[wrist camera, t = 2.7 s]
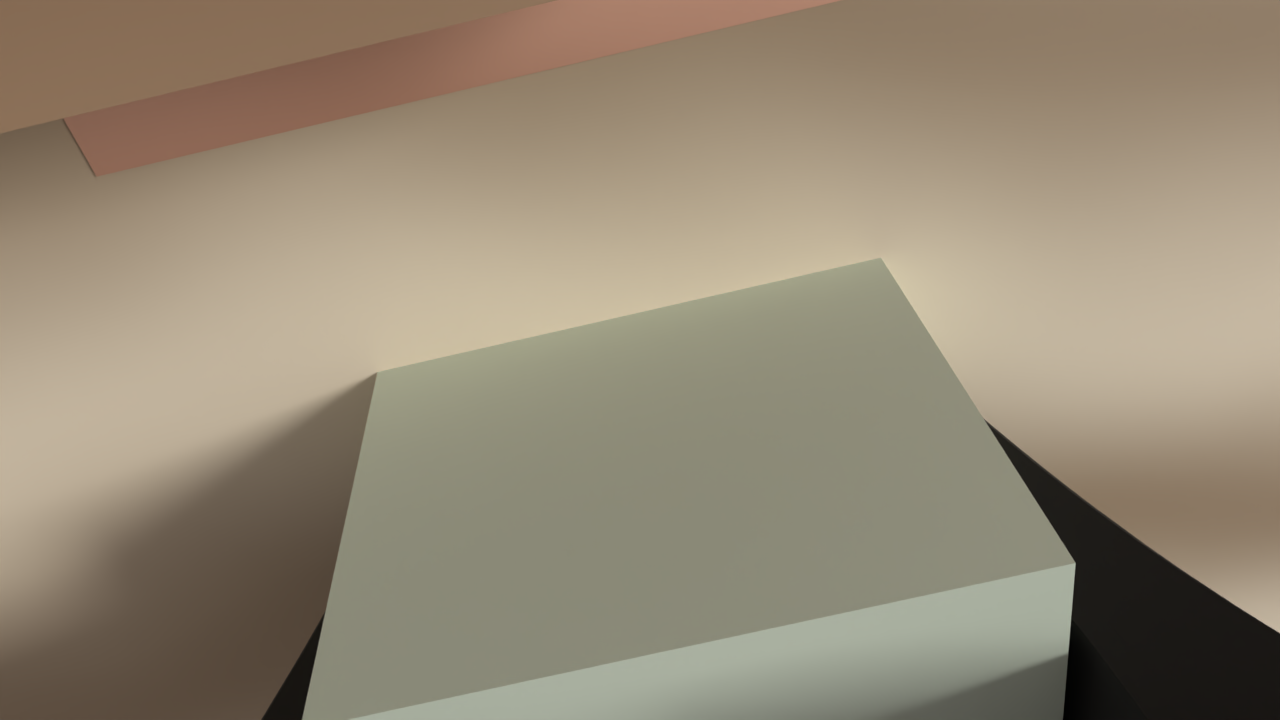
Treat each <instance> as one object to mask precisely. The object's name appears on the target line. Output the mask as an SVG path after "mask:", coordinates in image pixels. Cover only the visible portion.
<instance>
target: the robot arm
mask: <svg viewBox="0 0 1280 720" xmlns="http://www.w3.org/2000/svg"><path fill="white" fill-rule="evenodd" d="M984 420H985V419H984ZM985 422H986V423H987V425H988V426H989V428H990V429H991V431H992V433H993V434H994V436H995V437H996V439H997V440H998V442H999V444H1000V445H1001V447H1002V448H1003V450H1004V451H1005V453H1006V455H1007V456H1008V458H1009V459H1010V461H1011V462H1012V464H1013V466H1014V467H1015V469H1016V470H1017V472H1018V473H1019V475H1020V477H1021V478H1022V480H1023V481H1024V483H1025V484H1026V486H1027V487H1028V489H1029V491H1030V492H1031V494H1032V495H1033V497H1034V498H1035V500H1036V502H1037V503H1038V505H1039V506H1040V508H1041V509H1042V511H1043V513H1044V514H1045V516H1046V517H1047V519H1048V520H1049V522H1050V524H1051V525H1052V527H1053V528H1054V530H1055V531H1056V533H1057V535H1058V536H1059V538H1060V539H1061V541H1062V542H1063V544H1064V546H1065V547H1066V549H1067V550H1068V552H1069V553H1070V555H1071V556H1072V558H1073V560H1074V561H1075V563H1076V565H1075V577H1074V590H1073V602H1072V614H1071V626H1070V639H1069V651H1068V663H1067V676H1066V688H1065V700H1064V712H1063V720H1280V633H1279V632H1277V631H1276V630H1274V629H1272V628H1271V627H1269V626H1267V625H1266V624H1264V623H1263V622H1261V621H1259V620H1258V619H1256V618H1255V617H1253V616H1252V615H1250V614H1248V613H1247V612H1245V611H1244V610H1242V609H1240V608H1239V607H1237V606H1236V605H1234V604H1233V603H1231V602H1230V601H1228V600H1227V599H1225V598H1224V597H1222V596H1221V595H1219V594H1217V593H1216V592H1214V591H1213V590H1211V589H1210V588H1208V587H1207V586H1205V585H1204V584H1202V583H1201V582H1199V581H1198V580H1196V579H1195V578H1193V577H1192V576H1190V575H1189V574H1187V573H1186V572H1184V571H1183V570H1181V569H1180V568H1178V567H1177V566H1176V565H1174V564H1173V563H1171V562H1170V561H1168V560H1167V559H1165V558H1164V557H1163V556H1161V555H1160V554H1158V553H1157V552H1155V551H1154V550H1153V549H1151V548H1150V547H1148V546H1147V545H1146V544H1144V543H1143V542H1141V541H1140V540H1139V539H1137V538H1136V537H1135V536H1133V535H1132V534H1131V533H1129V532H1128V531H1126V530H1125V529H1124V528H1122V527H1121V526H1120V525H1118V524H1117V523H1115V522H1114V521H1113V520H1111V519H1110V518H1109V517H1107V516H1106V515H1105V514H1103V513H1102V512H1100V511H1099V510H1098V509H1096V508H1095V507H1094V506H1092V505H1091V504H1090V503H1088V502H1087V501H1086V500H1084V499H1083V498H1082V497H1080V496H1079V495H1078V494H1077V493H1075V492H1074V491H1073V490H1071V489H1070V488H1069V487H1067V486H1066V485H1065V484H1064V483H1062V482H1061V481H1060V480H1059V479H1057V478H1056V477H1055V476H1054V475H1052V474H1051V473H1050V472H1048V471H1047V470H1046V469H1045V468H1043V467H1042V466H1041V465H1040V464H1038V463H1037V462H1036V461H1035V460H1033V459H1032V458H1031V457H1030V456H1028V455H1027V454H1026V453H1025V452H1024V451H1022V450H1021V449H1020V448H1019V447H1017V446H1016V445H1015V444H1014V443H1012V442H1011V441H1010V440H1009V439H1008V438H1006V437H1005V436H1004V435H1003V434H1002V433H1000V432H999V431H998V430H997V429H996V428H994V427H993V426H992V425H991V424H990V423H988V422H987V421H986V420H985ZM325 612H326V611H325ZM325 612H324V614H323V616H322V618H321V619H320V621H319V623H318V625H317V626H316V628H315V630H314V632H313V633H312V635H311V637H310V639H309V640H308V642H307V644H306V646H305V647H304V649H303V651H302V652H301V654H300V656H299V658H298V659H297V661H296V663H295V664H294V666H293V668H292V669H291V671H290V673H289V674H288V676H287V678H286V679H285V681H284V683H283V684H282V686H281V688H280V689H279V691H278V693H277V694H276V696H275V697H274V699H273V701H272V702H271V704H270V706H269V707H268V709H267V711H266V712H265V714H264V716H263V717H262V719H261V720H302V717H303V713H304V708H305V704H306V699H307V694H308V690H309V685H310V681H311V676H312V671H313V667H314V662H315V658H316V653H317V648H318V644H319V639H320V635H321V630H322V625H323V621H324V616H325Z"/></svg>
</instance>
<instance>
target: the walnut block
mask: <svg viewBox="0 0 1280 720" xmlns="http://www.w3.org/2000/svg"><path fill="white" fill-rule="evenodd" d="M552 1H556V0H0V133H4V132H8V131H12V130H17V129H21V128H25V127H29V126H33V125H38V124H42V123H46V122H50V121H54V120H58V119H63V118H67V117H71V116H75V115H79V114H84V113H88V112H92V111H96V110H100V109H104V108H109V107H113V106H117V105H121V104H125V103H130V102H134V101H138V100H142V99H146V98H150V97H155V96H159V95H163V94H167V93H171V92H176V91H180V90H184V89H188V88H192V87H196V86H201V85H205V84H209V83H213V82H217V81H222V80H226V79H230V78H234V77H238V76H243V75H247V74H251V73H255V72H259V71H263V70H268V69H272V68H276V67H280V66H284V65H289V64H293V63H297V62H301V61H305V60H309V59H314V58H318V57H322V56H326V55H330V54H335V53H339V52H343V51H347V50H351V49H355V48H360V47H364V46H368V45H372V44H376V43H381V42H385V41H389V40H393V39H397V38H401V37H406V36H410V35H414V34H418V33H422V32H427V31H431V30H435V29H439V28H443V27H447V26H452V25H456V24H460V23H464V22H468V21H473V20H477V19H481V18H485V17H489V16H493V15H498V14H502V13H506V12H510V11H514V10H519V9H523V8H527V7H531V6H535V5H539V4H544V3H548V2H552Z"/></svg>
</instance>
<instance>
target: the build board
mask: <svg viewBox="0 0 1280 720" xmlns="http://www.w3.org/2000/svg"><path fill="white" fill-rule="evenodd" d="M877 258H881V259H882V260H883V262H884V263H885V265H886V266H887V268H888V270H889V271H890V273H891V274H892V276H893V277H894V279H895V281H896V282H897V284H898V285H899V287H900V288H901V290H902V292H903V293H904V295H905V296H906V298H907V299H908V301H909V302H910V304H911V306H912V307H913V309H914V310H915V312H916V313H917V315H918V317H919V318H920V320H921V321H922V323H923V324H924V326H925V328H926V329H927V331H928V332H929V334H930V335H931V337H932V339H933V340H934V342H935V343H936V345H937V346H938V348H939V350H940V351H941V353H942V354H943V356H944V357H945V359H946V361H947V362H948V364H949V365H950V367H951V368H952V370H953V371H954V373H955V375H956V376H957V378H958V379H959V381H960V382H961V384H962V386H963V387H964V389H965V390H966V392H967V393H968V395H969V397H970V398H971V400H972V401H973V403H974V404H975V406H976V408H977V409H978V411H979V412H980V414H981V415H982V417H983V419H985V420H986V421H987V422H988V423H990V424H991V425H992V426H993V427H994V428H996V429H997V430H998V431H999V432H1000V433H1002V434H1003V435H1004V436H1005V437H1006V438H1008V439H1009V440H1010V441H1011V442H1012V443H1014V444H1015V445H1016V446H1017V447H1019V448H1020V449H1021V450H1022V451H1024V452H1025V453H1026V454H1027V455H1028V456H1030V457H1031V458H1032V459H1033V460H1035V461H1036V462H1037V463H1038V464H1040V465H1041V466H1042V467H1043V468H1045V469H1046V470H1047V471H1048V472H1050V473H1051V474H1052V475H1054V476H1055V477H1056V478H1057V479H1059V480H1060V481H1061V482H1062V483H1064V484H1065V485H1066V486H1067V487H1069V488H1070V489H1071V490H1073V491H1074V492H1075V493H1077V494H1078V495H1079V496H1080V497H1082V498H1083V499H1084V500H1086V501H1087V502H1088V503H1090V504H1091V505H1092V506H1094V507H1095V508H1096V509H1098V510H1099V511H1100V512H1102V513H1103V514H1105V515H1106V516H1107V517H1109V518H1110V519H1111V520H1113V521H1114V522H1115V523H1117V524H1118V525H1120V526H1121V527H1122V528H1124V529H1125V530H1126V531H1128V532H1129V533H1131V534H1132V535H1133V536H1135V537H1136V538H1137V539H1139V540H1140V541H1141V542H1143V543H1144V544H1146V545H1147V546H1148V547H1150V548H1151V549H1153V550H1154V551H1155V552H1157V553H1158V554H1160V555H1161V556H1163V557H1164V558H1165V559H1167V560H1168V561H1170V562H1171V563H1173V564H1174V565H1176V566H1177V567H1178V568H1180V569H1181V570H1183V571H1184V572H1186V573H1187V574H1189V575H1190V576H1192V577H1193V578H1195V579H1196V580H1198V581H1199V582H1201V583H1202V584H1204V585H1205V586H1207V587H1208V588H1210V589H1211V590H1213V591H1214V592H1216V593H1217V594H1219V595H1221V596H1222V597H1224V598H1225V599H1227V600H1228V601H1230V602H1231V603H1233V604H1234V605H1236V606H1237V607H1239V608H1240V609H1242V610H1244V611H1245V612H1247V613H1248V614H1250V615H1252V616H1253V617H1255V618H1256V619H1258V620H1259V621H1261V622H1263V623H1264V624H1266V625H1267V626H1269V627H1271V628H1272V629H1274V630H1276V631H1277V632H1279V633H1280V0H556V1H552V2H548V3H544V4H539V5H535V6H531V7H527V8H523V9H519V10H514V11H510V12H506V13H502V14H498V15H493V16H489V17H485V18H481V19H477V20H473V21H468V22H464V23H460V24H456V25H452V26H447V27H443V28H439V29H435V30H431V31H427V32H422V33H418V34H414V35H410V36H406V37H401V38H397V39H393V40H389V41H385V42H381V43H376V44H372V45H368V46H364V47H360V48H355V49H351V50H347V51H343V52H339V53H335V54H330V55H326V56H322V57H318V58H314V59H309V60H305V61H301V62H297V63H293V64H289V65H284V66H280V67H276V68H272V69H268V70H263V71H259V72H255V73H251V74H247V75H243V76H238V77H234V78H230V79H226V80H222V81H217V82H213V83H209V84H205V85H201V86H196V87H192V88H188V89H184V90H180V91H176V92H171V93H167V94H163V95H159V96H155V97H150V98H146V99H142V100H138V101H134V102H130V103H125V104H121V105H117V106H113V107H109V108H104V109H100V110H96V111H92V112H88V113H84V114H79V115H75V116H71V117H67V118H63V119H58V120H54V121H50V122H46V123H42V124H38V125H33V126H29V127H25V128H21V129H17V130H12V131H8V132H4V133H0V720H261V719H262V717H263V716H264V714H265V712H266V711H267V709H268V707H269V706H270V704H271V702H272V701H273V699H274V697H275V696H276V694H277V693H278V691H279V689H280V688H281V686H282V684H283V683H284V681H285V679H286V678H287V676H288V674H289V673H290V671H291V669H292V668H293V666H294V664H295V663H296V661H297V659H298V658H299V656H300V654H301V652H302V651H303V649H304V647H305V646H306V644H307V642H308V640H309V639H310V637H311V635H312V633H313V632H314V630H315V628H316V626H317V625H318V623H319V621H320V619H321V618H322V616H323V614H324V612H325V611H326V607H327V602H328V598H329V593H330V589H331V584H332V579H333V575H334V570H335V565H336V561H337V556H338V552H339V547H340V542H341V538H342V533H343V529H344V524H345V519H346V515H347V510H348V506H349V501H350V496H351V492H352V487H353V483H354V478H355V473H356V469H357V464H358V460H359V455H360V450H361V446H362V441H363V437H364V432H365V427H366V423H367V418H368V414H369V409H370V404H371V400H372V395H373V391H374V386H375V381H376V377H377V372H380V371H384V370H389V369H393V368H398V367H402V366H406V365H411V364H415V363H419V362H424V361H428V360H433V359H437V358H441V357H446V356H450V355H455V354H459V353H463V352H468V351H472V350H477V349H481V348H485V347H490V346H494V345H499V344H503V343H507V342H512V341H516V340H521V339H525V338H529V337H534V336H538V335H543V334H547V333H551V332H556V331H560V330H565V329H569V328H573V327H578V326H582V325H587V324H591V323H595V322H600V321H604V320H609V319H613V318H617V317H622V316H626V315H631V314H635V313H639V312H644V311H648V310H653V309H657V308H661V307H666V306H670V305H675V304H679V303H683V302H688V301H692V300H697V299H701V298H705V297H710V296H714V295H719V294H723V293H727V292H732V291H736V290H741V289H745V288H749V287H754V286H758V285H763V284H767V283H771V282H776V281H780V280H785V279H789V278H793V277H798V276H802V275H807V274H811V273H815V272H820V271H824V270H829V269H833V268H837V267H842V266H846V265H851V264H855V263H859V262H864V261H868V260H873V259H877Z"/></svg>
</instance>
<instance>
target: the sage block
mask: <svg viewBox="0 0 1280 720" xmlns="http://www.w3.org/2000/svg"><path fill="white" fill-rule="evenodd" d="M1075 565H1076V563H1075V561H1074V560H1073V558H1072V556H1071V555H1070V553H1069V552H1068V550H1067V549H1066V547H1065V546H1064V544H1063V542H1062V541H1061V539H1060V538H1059V536H1058V535H1057V533H1056V531H1055V530H1054V528H1053V527H1052V525H1051V524H1050V522H1049V520H1048V519H1047V517H1046V516H1045V514H1044V513H1043V511H1042V509H1041V508H1040V506H1039V505H1038V503H1037V502H1036V500H1035V498H1034V497H1033V495H1032V494H1031V492H1030V491H1029V489H1028V487H1027V486H1026V484H1025V483H1024V481H1023V480H1022V478H1021V477H1020V475H1019V473H1018V472H1017V470H1016V469H1015V467H1014V466H1013V464H1012V462H1011V461H1010V459H1009V458H1008V456H1007V455H1006V453H1005V451H1004V450H1003V448H1002V447H1001V445H1000V444H999V442H998V440H997V439H996V437H995V436H994V434H993V433H992V431H991V429H990V428H989V426H988V425H987V423H986V422H985V420H984V419H983V417H982V415H981V414H980V412H979V411H978V409H977V408H976V406H975V404H974V403H973V401H972V400H971V398H970V397H969V395H968V393H967V392H966V390H965V389H964V387H963V386H962V384H961V382H960V381H959V379H958V378H957V376H956V375H955V373H954V371H953V370H952V368H951V367H950V365H949V364H948V362H947V361H946V359H945V357H944V356H943V354H942V353H941V351H940V350H939V348H938V346H937V345H936V343H935V342H934V340H933V339H932V337H931V335H930V334H929V332H928V331H927V329H926V328H925V326H924V324H923V323H922V321H921V320H920V318H919V317H918V315H917V313H916V312H915V310H914V309H913V307H912V306H911V304H910V302H909V301H908V299H907V298H906V296H905V295H904V293H903V292H902V290H901V288H900V287H899V285H898V284H897V282H896V281H895V279H894V277H893V276H892V274H891V273H890V271H889V270H888V268H887V266H886V265H885V263H884V262H883V260H882V259H881V258H877V259H873V260H868V261H864V262H859V263H855V264H851V265H846V266H842V267H837V268H833V269H829V270H824V271H820V272H815V273H811V274H807V275H802V276H798V277H793V278H789V279H785V280H780V281H776V282H771V283H767V284H763V285H758V286H754V287H749V288H745V289H741V290H736V291H732V292H727V293H723V294H719V295H714V296H710V297H705V298H701V299H697V300H692V301H688V302H683V303H679V304H675V305H670V306H666V307H661V308H657V309H653V310H648V311H644V312H639V313H635V314H631V315H626V316H622V317H617V318H613V319H609V320H604V321H600V322H595V323H591V324H587V325H582V326H578V327H573V328H569V329H565V330H560V331H556V332H551V333H547V334H543V335H538V336H534V337H529V338H525V339H521V340H516V341H512V342H507V343H503V344H499V345H494V346H490V347H485V348H481V349H477V350H472V351H468V352H463V353H459V354H455V355H450V356H446V357H441V358H437V359H433V360H428V361H424V362H419V363H415V364H411V365H406V366H402V367H398V368H393V369H389V370H384V371H380V372H377V377H376V381H375V386H374V391H373V395H372V400H371V404H370V409H369V414H368V418H367V423H366V427H365V432H364V437H363V441H362V446H361V450H360V455H359V460H358V464H357V469H356V473H355V478H354V483H353V487H352V492H351V496H350V501H349V506H348V510H347V515H346V519H345V524H344V529H343V533H342V538H341V542H340V547H339V552H338V556H337V561H336V565H335V570H334V575H333V579H332V584H331V589H330V593H329V598H328V602H327V607H326V612H325V616H324V621H323V625H322V630H321V635H320V639H319V644H318V648H317V653H316V658H315V662H314V667H313V671H312V676H311V681H310V685H309V690H308V694H307V699H306V704H305V708H304V713H303V717H302V720H1063V712H1064V700H1065V688H1066V676H1067V663H1068V651H1069V639H1070V626H1071V614H1072V602H1073V590H1074V577H1075Z"/></svg>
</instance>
